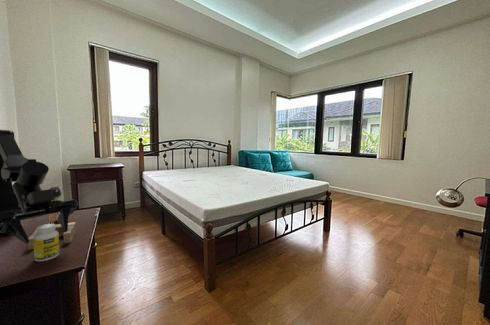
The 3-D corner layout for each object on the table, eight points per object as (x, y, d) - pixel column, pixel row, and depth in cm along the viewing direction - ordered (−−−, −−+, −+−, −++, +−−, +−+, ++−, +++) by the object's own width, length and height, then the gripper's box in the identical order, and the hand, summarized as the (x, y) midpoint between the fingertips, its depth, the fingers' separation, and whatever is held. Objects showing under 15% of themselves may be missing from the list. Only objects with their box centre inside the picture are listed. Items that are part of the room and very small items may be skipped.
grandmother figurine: (50, 224, 84) (49, 195, 83) (42, 224, 84) (41, 194, 83) (69, 218, 92) (67, 191, 90) (61, 217, 92) (60, 190, 91)
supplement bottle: (43, 263, 58) (42, 230, 57) (29, 260, 59) (27, 228, 58) (64, 253, 63) (62, 223, 62) (50, 251, 64) (49, 221, 63)
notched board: (38, 236, 73) (38, 227, 73) (76, 231, 79) (75, 222, 79) (27, 249, 64) (27, 238, 64) (70, 242, 70) (70, 232, 70)
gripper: (-12, 184, 52) (7, 234, 49) (74, 175, 69) (93, 212, 65) (-19, 209, 57) (-2, 257, 53) (63, 195, 73) (81, 230, 69)
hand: (48, 236), depth 60 cm, fingers open, 8 cm apart
